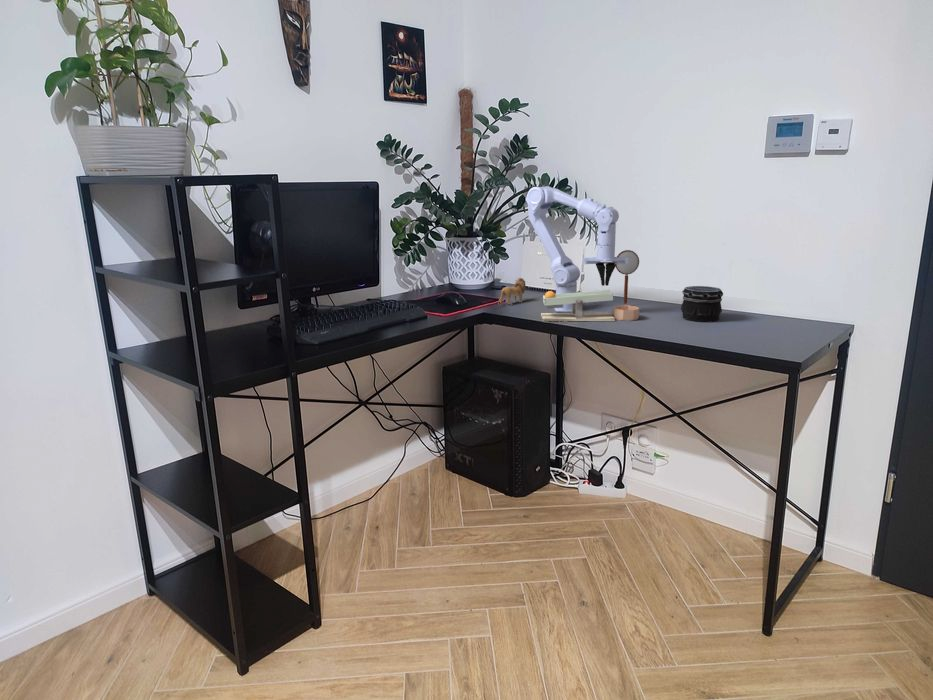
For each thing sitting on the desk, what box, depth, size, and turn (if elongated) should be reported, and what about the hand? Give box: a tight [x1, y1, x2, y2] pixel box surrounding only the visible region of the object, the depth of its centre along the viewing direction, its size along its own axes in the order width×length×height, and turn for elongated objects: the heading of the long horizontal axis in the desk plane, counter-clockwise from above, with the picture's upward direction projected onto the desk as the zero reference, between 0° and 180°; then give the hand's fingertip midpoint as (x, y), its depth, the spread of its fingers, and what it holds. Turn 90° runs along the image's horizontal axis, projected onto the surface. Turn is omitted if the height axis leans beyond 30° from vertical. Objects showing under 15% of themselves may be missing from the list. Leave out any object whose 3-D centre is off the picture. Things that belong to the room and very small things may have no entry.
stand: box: [540, 300, 616, 323], centre depth 218 cm, size 11×23×7 cm, turn 88°
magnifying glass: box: [615, 249, 640, 305], centre depth 236 cm, size 9×2×20 cm, turn 93°
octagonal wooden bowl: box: [612, 304, 640, 322], centre depth 218 cm, size 8×8×4 cm
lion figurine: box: [498, 277, 526, 306], centre depth 245 cm, size 15×5×9 cm, turn 142°
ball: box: [544, 290, 556, 298], centre depth 218 cm, size 4×4×4 cm
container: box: [680, 285, 724, 323], centre depth 215 cm, size 13×13×10 cm
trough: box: [542, 289, 614, 310], centre depth 220 cm, size 12×23×4 cm, turn 88°
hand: (604, 285), depth 223 cm, fingers closed
